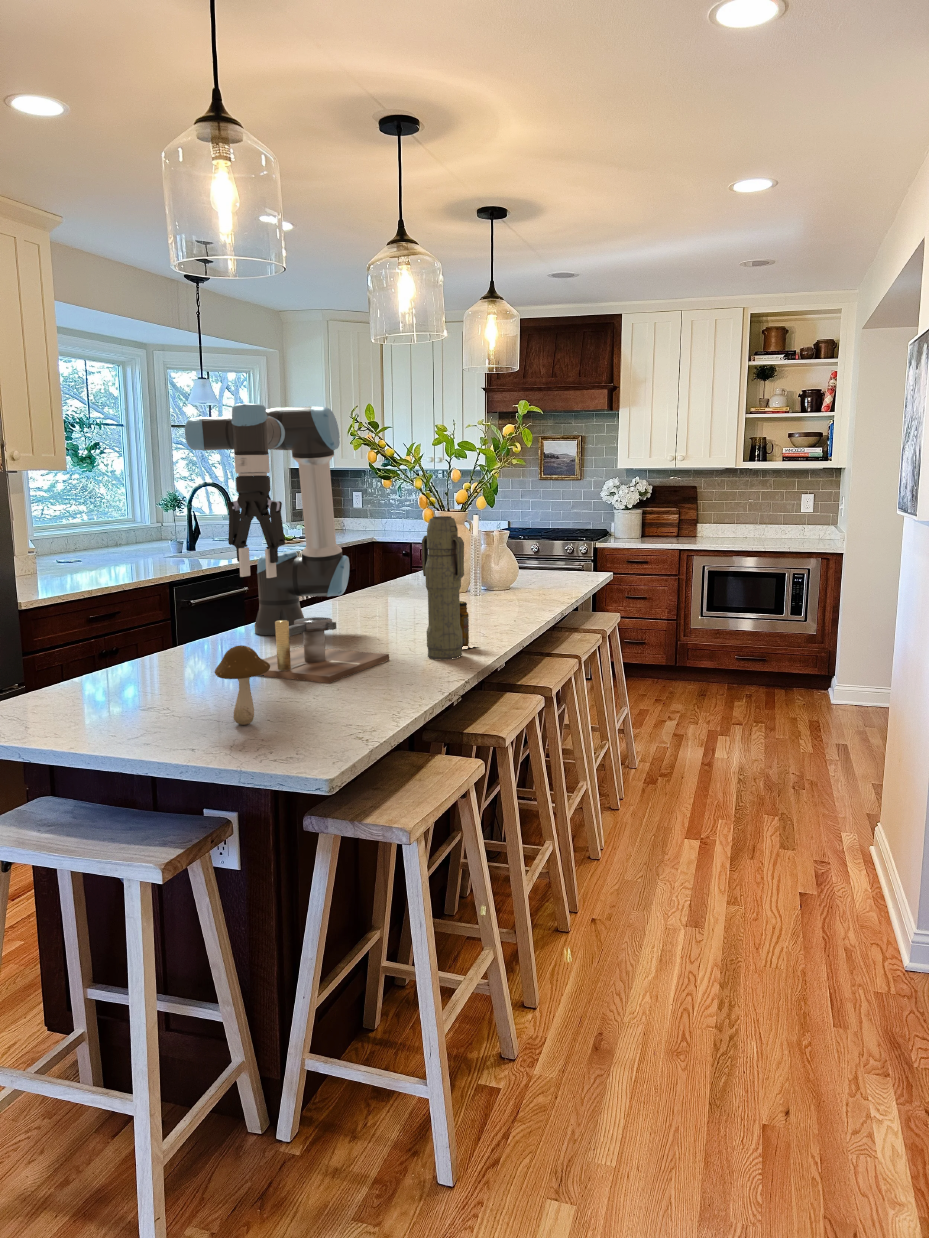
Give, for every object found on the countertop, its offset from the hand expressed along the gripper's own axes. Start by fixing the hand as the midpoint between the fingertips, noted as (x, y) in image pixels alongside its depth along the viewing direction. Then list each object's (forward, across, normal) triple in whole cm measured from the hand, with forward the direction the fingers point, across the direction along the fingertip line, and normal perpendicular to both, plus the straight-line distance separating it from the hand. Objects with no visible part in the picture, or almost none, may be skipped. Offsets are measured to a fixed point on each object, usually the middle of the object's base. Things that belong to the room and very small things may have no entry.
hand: (258, 576), depth 202 cm
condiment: (+23, +28, +46) cm, 59 cm away
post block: (+23, +6, +12) cm, 27 cm away
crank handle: (+21, +7, +8) cm, 23 cm away
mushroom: (+23, +23, -34) cm, 47 cm away
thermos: (+23, +30, +34) cm, 51 cm away
